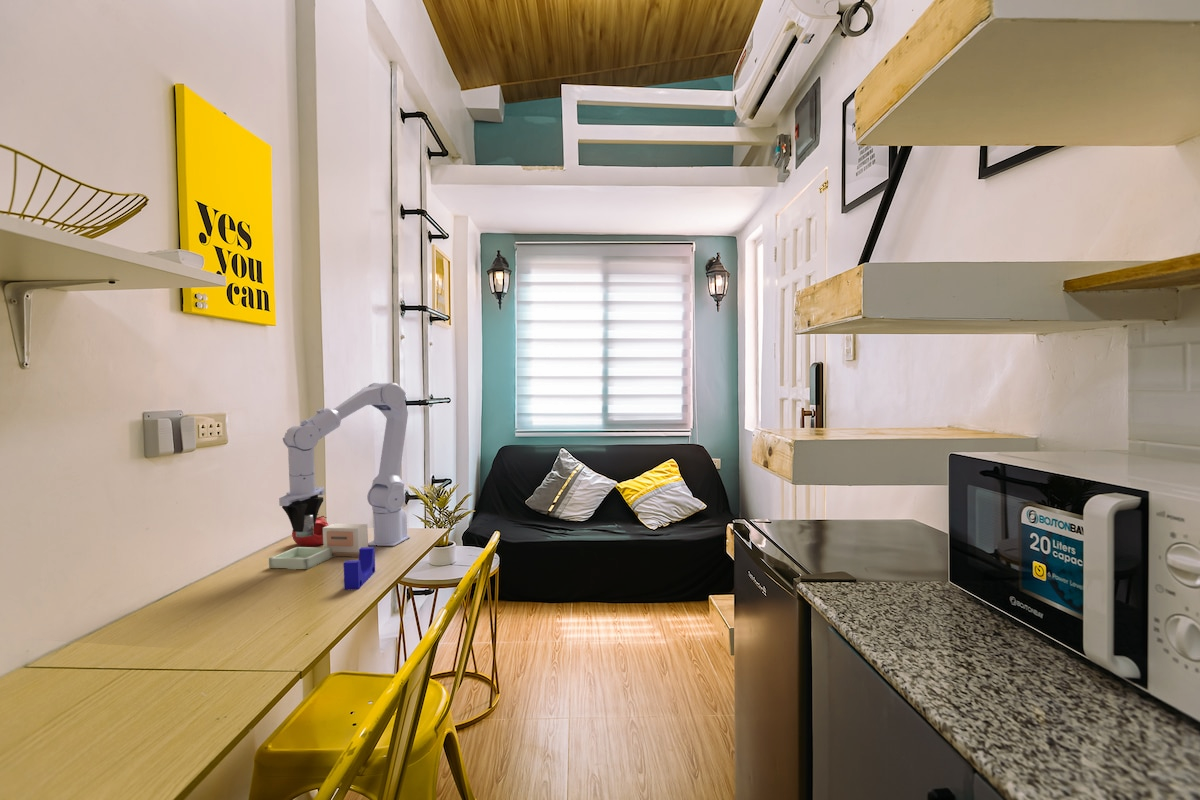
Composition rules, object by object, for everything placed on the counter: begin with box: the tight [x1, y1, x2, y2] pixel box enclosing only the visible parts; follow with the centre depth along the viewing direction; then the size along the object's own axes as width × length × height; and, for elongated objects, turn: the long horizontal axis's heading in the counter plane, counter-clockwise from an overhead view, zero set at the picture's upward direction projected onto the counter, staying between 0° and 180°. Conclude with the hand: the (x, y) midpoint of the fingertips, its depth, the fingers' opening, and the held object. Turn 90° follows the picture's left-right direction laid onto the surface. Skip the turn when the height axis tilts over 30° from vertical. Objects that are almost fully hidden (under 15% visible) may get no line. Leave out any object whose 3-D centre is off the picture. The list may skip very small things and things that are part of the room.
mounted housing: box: [322, 523, 369, 558], centre depth 159 cm, size 6×12×7 cm, turn 80°
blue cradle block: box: [343, 546, 376, 591], centre depth 136 cm, size 12×4×6 cm, turn 4°
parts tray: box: [268, 546, 333, 570], centre depth 151 cm, size 10×10×2 cm
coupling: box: [296, 513, 314, 537], centre depth 151 cm, size 4×4×5 cm
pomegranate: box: [291, 513, 329, 547], centre depth 169 cm, size 10×10×9 cm
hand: (304, 529), depth 151 cm, fingers closed on coupling, 4 cm apart
